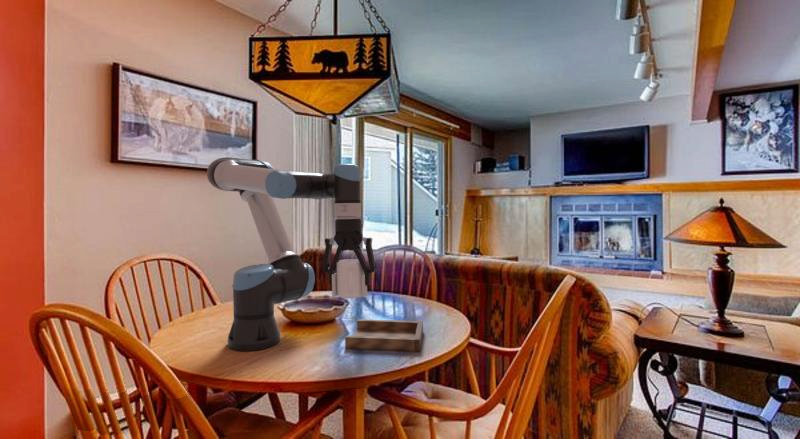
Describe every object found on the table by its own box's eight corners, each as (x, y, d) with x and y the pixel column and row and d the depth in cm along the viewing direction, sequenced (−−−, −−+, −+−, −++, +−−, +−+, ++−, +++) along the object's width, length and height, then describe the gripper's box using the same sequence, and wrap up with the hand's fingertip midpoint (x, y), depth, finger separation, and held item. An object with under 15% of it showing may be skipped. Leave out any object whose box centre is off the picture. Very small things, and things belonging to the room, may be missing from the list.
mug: (366, 300, 111) (364, 263, 110) (335, 302, 110) (334, 265, 110) (365, 291, 123) (364, 258, 122) (338, 293, 122) (336, 259, 121)
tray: (345, 348, 118) (345, 337, 118) (358, 329, 136) (358, 319, 136) (419, 351, 116) (419, 339, 115) (422, 331, 134) (422, 321, 133)
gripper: (308, 219, 114) (310, 298, 114) (380, 218, 110) (382, 299, 111) (318, 218, 121) (320, 292, 122) (386, 217, 118) (387, 294, 118)
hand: (349, 296), depth 116 cm, fingers closed on mug, 8 cm apart
